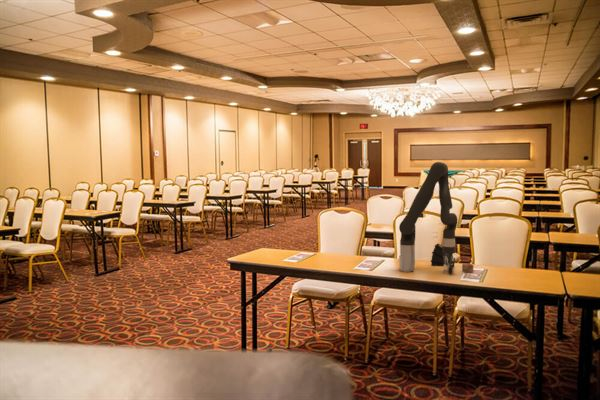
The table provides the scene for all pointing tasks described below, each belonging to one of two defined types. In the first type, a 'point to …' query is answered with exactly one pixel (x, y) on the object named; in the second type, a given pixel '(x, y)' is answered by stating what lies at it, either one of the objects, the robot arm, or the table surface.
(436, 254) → the black ridged slab
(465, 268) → the walnut block
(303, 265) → the table surface
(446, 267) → the maple block
